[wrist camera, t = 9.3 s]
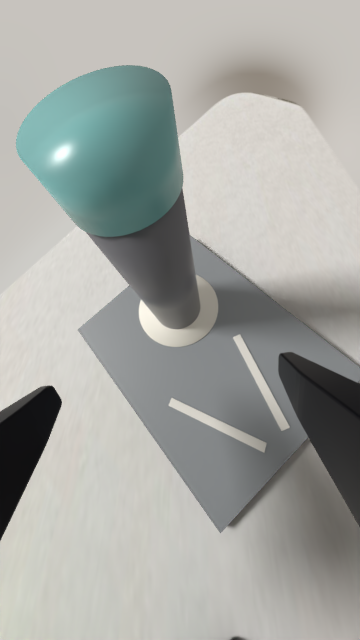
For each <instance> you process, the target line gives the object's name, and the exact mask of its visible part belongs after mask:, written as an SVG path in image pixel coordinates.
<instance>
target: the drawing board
mask: <svg viewBox="0 0 360 640" xmlns="http://www.w3.org/2000/svg"><path fill="white" fill-rule="evenodd" d="M190 241H191V248H192V254H193V260H194V267H195V273H196V280H197V286H198V292H199V299H200V313H199V315H198V317H197V319H196V320H195V321H194V322H193V323H192V324H191V325H189V326H188V327H185V328H182V329H170V328H167V327H165V326H164V325H162V324H161V323H160V322H159V321H158V319H157V318H156V317H155V316H154V314H153V313H152V312H151V311H150V310H149V308H148V307H147V306H146V305H145V303H144V302H143V301H142V300H141V299H140V297H139V296H138V295H137V294H136V292H135V291H134V290H133V289H132V288H131V286H130V285H129V286H128V287H127V288H126V289H125V290H124V291H122V292H121V293H120V294H119V295H118V296H117V297H115V298H114V299H113V300H112V301H111V302H110V303H108V304H107V305H106V306H105V307H104V308H103V309H101V310H100V311H99V312H98V313H97V314H95V315H94V316H93V317H92V318H91V319H90V320H88V321H87V322H86V323H85V324H84V325H83V326H81V327H80V328H79V329H78V331H79V332H80V334H81V335H82V337H83V338H84V340H85V341H86V342H87V344H88V345H89V347H90V348H91V350H92V351H93V352H94V354H95V355H96V357H97V358H98V359H99V361H100V362H101V364H102V365H103V367H104V368H105V369H106V371H107V372H108V374H109V375H110V377H111V378H112V379H113V381H114V382H115V384H116V385H117V387H118V388H119V389H120V391H121V392H122V394H123V395H124V397H125V398H126V399H127V401H128V402H129V404H130V405H131V407H132V408H133V409H134V411H135V412H136V414H137V415H138V416H139V418H140V419H141V421H142V422H143V424H144V425H145V426H146V428H147V429H148V431H149V432H150V434H151V435H152V436H153V438H154V439H155V441H156V442H157V444H158V445H159V446H160V448H161V449H162V451H163V452H164V454H165V455H166V456H167V458H168V459H169V461H170V462H171V464H172V465H173V466H174V468H175V469H176V471H177V472H178V473H179V475H180V476H181V478H182V479H183V481H184V482H185V483H186V485H187V486H188V488H189V489H190V491H191V492H192V493H193V495H194V496H195V498H196V499H197V501H198V502H199V503H200V505H201V506H202V508H203V509H204V511H205V512H206V513H207V515H208V516H209V518H210V519H211V521H212V522H213V523H214V525H215V526H216V528H217V529H218V530H219V532H220V533H221V532H222V531H223V530H224V529H225V528H226V527H227V526H228V525H229V523H230V522H231V521H232V520H233V519H234V518H235V517H236V516H237V515H238V514H239V513H240V511H241V510H242V509H243V508H244V507H245V506H246V505H247V504H248V503H249V502H250V500H251V499H252V498H253V497H254V496H255V495H256V494H257V493H258V492H259V491H260V490H261V488H262V487H263V486H264V485H265V484H266V483H267V482H268V481H269V480H270V479H271V477H272V476H273V475H274V474H275V473H276V472H277V471H278V470H279V469H280V468H281V467H282V465H283V464H284V463H285V462H286V461H287V460H288V459H289V458H290V457H291V456H292V455H293V453H294V452H295V451H296V450H297V449H298V448H299V447H300V446H301V445H302V444H303V442H304V441H305V440H306V439H307V438H308V436H307V434H306V432H305V430H304V429H303V427H302V425H301V423H300V421H299V420H298V418H297V416H296V413H295V411H294V409H293V407H292V404H291V402H290V400H289V398H288V395H287V393H286V391H285V388H284V386H283V384H282V382H281V379H280V377H279V373H278V357H279V354H280V353H284V352H293V353H296V354H298V355H300V356H302V357H304V358H306V359H308V360H310V361H313V362H315V363H317V364H319V365H321V366H323V367H325V368H327V369H330V370H332V371H334V372H336V373H338V374H340V375H342V376H344V377H347V378H349V379H351V380H353V381H355V382H357V383H358V382H359V381H360V367H359V366H357V365H356V364H355V363H354V362H352V361H351V360H350V359H348V358H347V357H346V356H345V355H343V354H342V353H341V352H339V351H338V350H337V349H336V348H334V347H333V346H332V345H330V344H329V343H328V342H327V341H325V340H324V339H323V338H322V337H320V336H319V335H318V334H316V333H315V332H314V331H313V330H311V329H310V328H309V327H307V326H306V325H305V324H304V323H302V322H301V321H300V320H298V319H297V318H296V317H295V316H293V315H292V314H291V313H289V312H288V311H287V310H286V309H284V308H283V307H282V306H280V305H279V304H278V303H277V302H275V301H274V300H273V299H271V298H270V297H269V296H268V295H266V294H265V293H264V292H262V291H261V290H260V289H259V288H257V287H256V286H255V285H253V284H252V283H251V282H250V281H248V280H247V279H246V278H244V277H243V276H242V275H241V274H239V273H238V272H237V271H235V270H234V269H233V268H232V267H230V266H229V265H228V264H226V263H225V262H224V261H223V260H221V259H220V258H219V257H217V256H216V255H215V254H214V253H212V252H211V251H210V250H208V249H207V248H206V247H205V246H203V245H202V244H201V243H199V242H198V241H197V240H196V239H194V238H193V237H192V236H190Z"/></svg>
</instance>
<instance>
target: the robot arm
mask: <svg viewBox="0 0 360 640" xmlns="http://www.w3.org/2000/svg"><path fill="white" fill-rule="evenodd" d="M278 373H279V377H280V379H281V382H282V384H283V386H284V388H285V391H286V393H287V395H288V398H289V400H290V402H291V404H292V407H293V409H294V411H295V413H296V416H297V418H298V420H299V421H300V423H301V425H302V427H303V429H304V430H305V432H306V434H307V436H308V437H309V439H310V441H311V443H312V444H313V446H314V448H315V450H316V451H317V453H318V455H319V457H320V458H321V460H322V462H323V464H324V465H325V467H326V469H327V471H328V472H329V474H330V476H331V478H332V479H333V481H334V483H335V485H336V486H337V488H338V490H339V492H340V493H341V495H342V497H343V499H344V500H345V502H346V504H347V506H348V507H349V509H350V511H351V513H352V514H353V516H354V518H355V520H356V521H357V523H358V525H359V527H360V384H359V383H357V382H355V381H353V380H351V379H349V378H347V377H344V376H342V375H340V374H338V373H336V372H334V371H332V370H330V369H327V368H325V367H323V366H321V365H319V364H317V363H315V362H313V361H310V360H308V359H306V358H304V357H302V356H300V355H298V354H296V353H293V352H284V353H280V354H279V357H278ZM61 404H62V401H61V398H60V397H59V395H58V393H57V392H56V390H55V388H54V387H53V386H43V387H40V388H38V389H36V390H35V391H33V392H31V393H30V394H28V395H27V396H25V397H23V398H22V399H20V400H18V401H17V402H15V403H14V404H12V405H10V406H9V407H7V408H5V409H4V410H2V411H1V412H0V540H1V538H2V536H3V534H4V532H5V530H6V528H7V526H8V524H9V522H10V520H11V517H12V515H13V513H14V511H15V509H16V507H17V505H18V503H19V501H20V499H21V497H22V494H23V492H24V490H25V488H26V486H27V484H28V482H29V480H30V478H31V476H32V474H33V471H34V469H35V467H36V465H37V463H38V461H39V459H40V457H41V455H42V453H43V451H44V448H45V446H46V444H47V442H48V439H49V437H50V434H51V431H52V429H53V426H54V423H55V421H56V418H57V416H58V413H59V410H60V408H61Z"/></svg>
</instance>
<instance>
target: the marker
mask: <svg viewBox="0 0 360 640" xmlns="http://www.w3.org/2000/svg"><path fill="white" fill-rule="evenodd" d="M16 148H17V152H18V155H19V157H20V158H21V160H22V161H23V162H24V163H25V164H26V165H27V167H28V168H29V169H30V171H31V172H32V173H33V174H34V175H35V176H36V177H37V179H38V180H39V181H40V182H41V184H42V185H43V186H44V187H45V188H46V189H47V191H48V192H49V193H50V194H51V195H52V197H53V198H54V199H55V200H56V201H57V203H58V204H59V205H60V206H61V207H62V208H63V210H64V211H65V212H66V213H67V214H68V216H69V217H70V218H71V219H72V220H73V221H74V223H75V224H76V225H77V226H78V227H79V228H80V229H82V230H84V231H85V232H86V233H87V234H88V235H89V236H90V238H91V239H92V240H93V241H94V242H95V244H96V245H97V246H98V247H99V249H100V250H101V251H102V252H103V253H104V255H105V256H106V257H107V258H108V260H109V261H110V262H111V263H112V264H113V266H114V267H115V268H116V269H117V270H118V272H119V273H120V274H121V275H122V277H123V278H124V279H125V280H126V281H127V283H128V284H129V285H130V286H131V288H132V289H133V290H134V291H135V292H136V294H137V295H138V296H139V297H140V299H141V300H142V301H143V302H144V303H145V305H146V306H147V307H148V308H149V310H150V311H151V312H152V313H153V314H154V316H155V317H156V318H157V319H158V321H159V322H160V323H161V324H162V325H164V326H165V327H167V328H170V329H182V328H185V327H188V326H189V325H191V324H192V323H193V322H194V321H195V320H196V319H197V317H198V315H199V313H200V299H199V292H198V286H197V280H196V273H195V267H194V260H193V254H192V248H191V241H190V235H189V228H188V222H187V216H186V209H185V203H184V196H183V190H182V186H183V170H182V163H181V156H180V149H179V142H178V135H177V128H176V121H175V114H174V107H173V100H172V93H171V88H170V85H169V83H168V81H167V79H166V78H165V77H164V76H163V75H162V74H160V73H159V72H157V71H155V70H153V69H150V68H147V67H142V66H132V65H126V66H114V67H109V68H104V69H100V70H97V71H94V72H91V73H88V74H85V75H83V76H80V77H78V78H76V79H74V80H71V81H69V82H68V83H66V84H64V85H62V86H61V87H59V88H57V89H56V90H54V91H53V92H52V93H50V94H49V95H47V96H46V97H45V98H44V99H43V100H42V101H40V102H39V103H38V104H37V105H36V106H35V107H34V108H33V109H32V111H31V112H30V113H29V114H28V115H27V117H26V118H25V120H24V121H23V123H22V125H21V127H20V129H19V132H18V135H17V139H16Z"/></svg>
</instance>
